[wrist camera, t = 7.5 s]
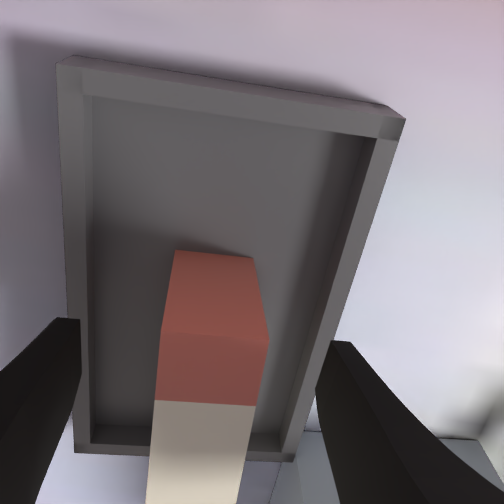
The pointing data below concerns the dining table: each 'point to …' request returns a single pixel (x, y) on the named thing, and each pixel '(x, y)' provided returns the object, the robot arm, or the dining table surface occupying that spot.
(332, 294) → the tray
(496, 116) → the dining table surface
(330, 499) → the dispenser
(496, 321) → the dining table surface
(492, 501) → the robot arm
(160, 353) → the pink-topped cream pillar
